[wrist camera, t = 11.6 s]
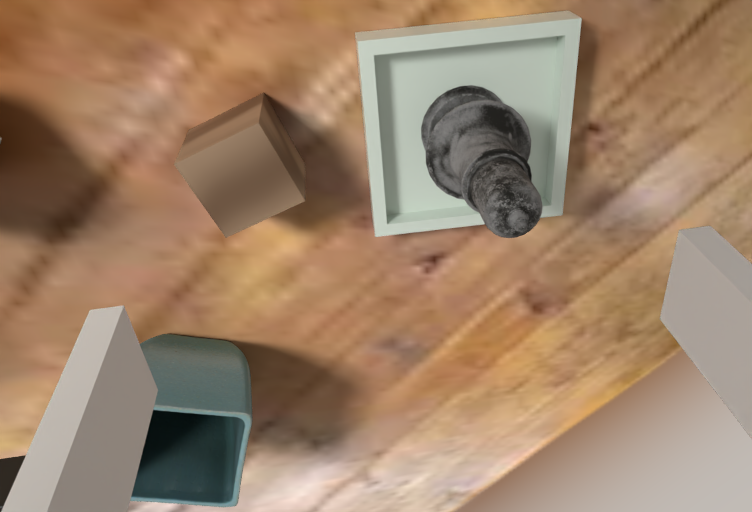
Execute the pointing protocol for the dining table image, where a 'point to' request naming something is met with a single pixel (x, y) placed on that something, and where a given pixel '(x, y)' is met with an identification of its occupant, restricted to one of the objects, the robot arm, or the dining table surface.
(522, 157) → the dark grey tall piece
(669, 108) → the dining table surface
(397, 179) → the coaster tray
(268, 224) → the dining table surface
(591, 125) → the dining table surface
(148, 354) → the flower pot
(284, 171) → the walnut block
